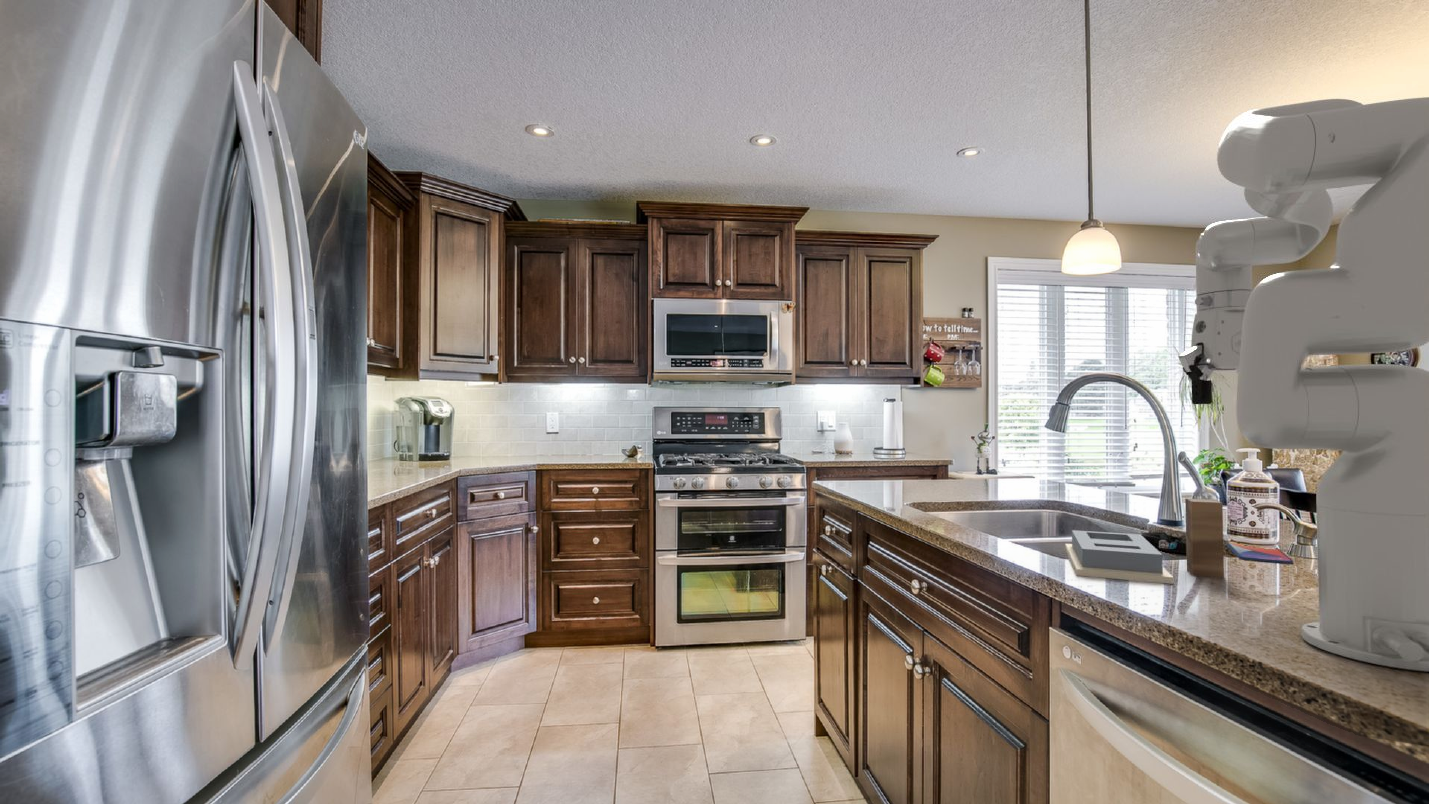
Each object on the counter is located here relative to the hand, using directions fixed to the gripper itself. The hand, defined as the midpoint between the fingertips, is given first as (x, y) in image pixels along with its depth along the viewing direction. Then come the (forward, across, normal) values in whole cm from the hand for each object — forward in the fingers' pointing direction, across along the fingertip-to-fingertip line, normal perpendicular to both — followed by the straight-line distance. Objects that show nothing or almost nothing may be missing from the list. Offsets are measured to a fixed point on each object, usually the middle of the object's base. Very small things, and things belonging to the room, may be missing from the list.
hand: (1226, 403), depth 109 cm
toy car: (+28, +2, +12) cm, 31 cm away
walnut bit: (+28, -9, -4) cm, 30 cm away
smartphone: (+28, +14, +7) cm, 32 cm away
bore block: (+28, -18, +5) cm, 34 cm away
